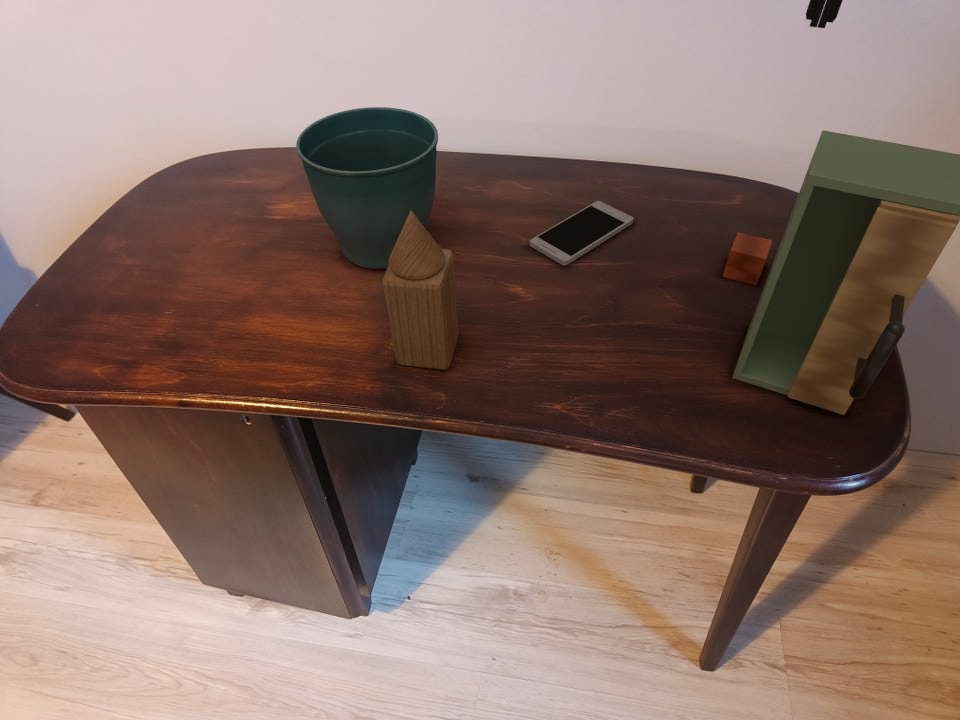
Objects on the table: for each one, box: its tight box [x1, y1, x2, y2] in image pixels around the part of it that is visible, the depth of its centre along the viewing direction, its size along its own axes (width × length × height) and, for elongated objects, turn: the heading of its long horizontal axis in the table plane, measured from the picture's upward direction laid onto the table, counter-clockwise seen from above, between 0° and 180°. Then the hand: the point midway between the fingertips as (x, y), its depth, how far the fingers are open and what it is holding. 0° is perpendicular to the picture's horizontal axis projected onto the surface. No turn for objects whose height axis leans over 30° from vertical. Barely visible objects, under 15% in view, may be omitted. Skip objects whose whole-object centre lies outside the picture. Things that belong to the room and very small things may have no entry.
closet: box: [731, 129, 960, 396], centre depth 65 cm, size 12×10×26 cm
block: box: [722, 232, 773, 287], centre depth 85 cm, size 4×4×4 cm
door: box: [786, 207, 957, 416], centre depth 59 cm, size 6×6×24 cm
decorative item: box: [382, 211, 460, 371], centre depth 71 cm, size 7×7×20 cm
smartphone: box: [529, 200, 634, 266], centre depth 94 cm, size 7×16×1 cm, turn 132°
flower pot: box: [295, 106, 439, 270], centre depth 88 cm, size 18×18×17 cm
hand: (818, 24), depth 64 cm, fingers closed
